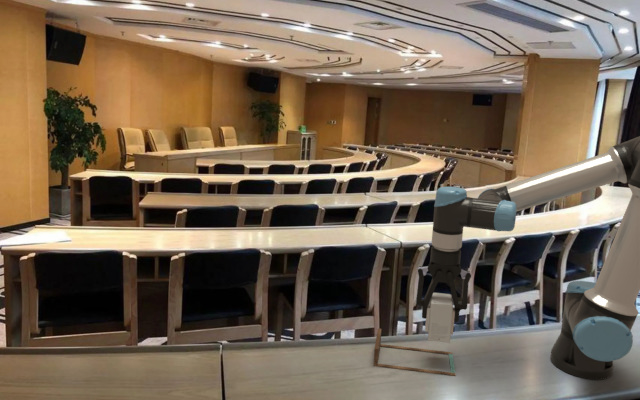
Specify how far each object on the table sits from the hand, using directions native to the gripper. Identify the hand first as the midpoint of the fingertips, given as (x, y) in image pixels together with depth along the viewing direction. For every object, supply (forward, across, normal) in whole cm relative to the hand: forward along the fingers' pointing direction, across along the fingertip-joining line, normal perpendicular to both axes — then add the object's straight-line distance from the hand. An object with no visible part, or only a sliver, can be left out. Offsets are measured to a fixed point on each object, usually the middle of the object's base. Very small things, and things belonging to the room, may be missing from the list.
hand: (438, 330), depth 134 cm
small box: (+2, 0, 0) cm, 2 cm away
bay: (+9, +6, 0) cm, 11 cm away
